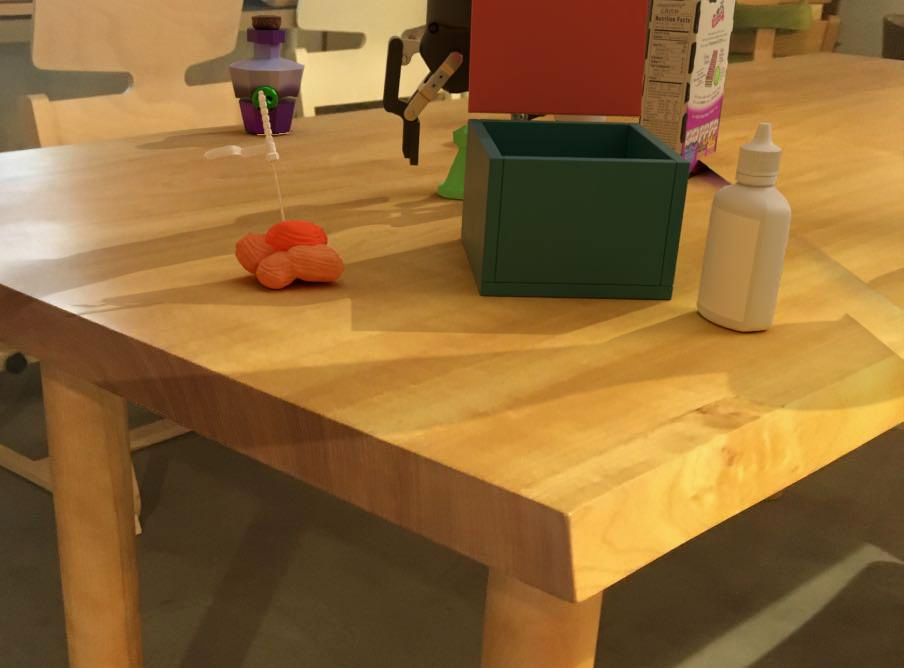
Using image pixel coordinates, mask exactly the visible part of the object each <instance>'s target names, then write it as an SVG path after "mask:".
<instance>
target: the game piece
mask: <svg viewBox="0 0 904 668" xmlns="http://www.w3.org/2000/svg"><path fill="white" fill-rule="evenodd" d="M467 128H468V124H464V125H462V126H460V127H459V128H457V129H455V130H453V131H452V142H453V143H454V144H455V146H457V147H458V150H457V152H456V155H455V157H454V158H453V162H452V163H451V166H450V169H449V171H448V174H447V176H446V178H445V180H444V181H442V182H441V183H440V184H439V185H437V196H441V197H443V198H445V199H452V200H460V201H461V200H462V201H463V194H464V178H465V161H466V144H467Z"/></svg>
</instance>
